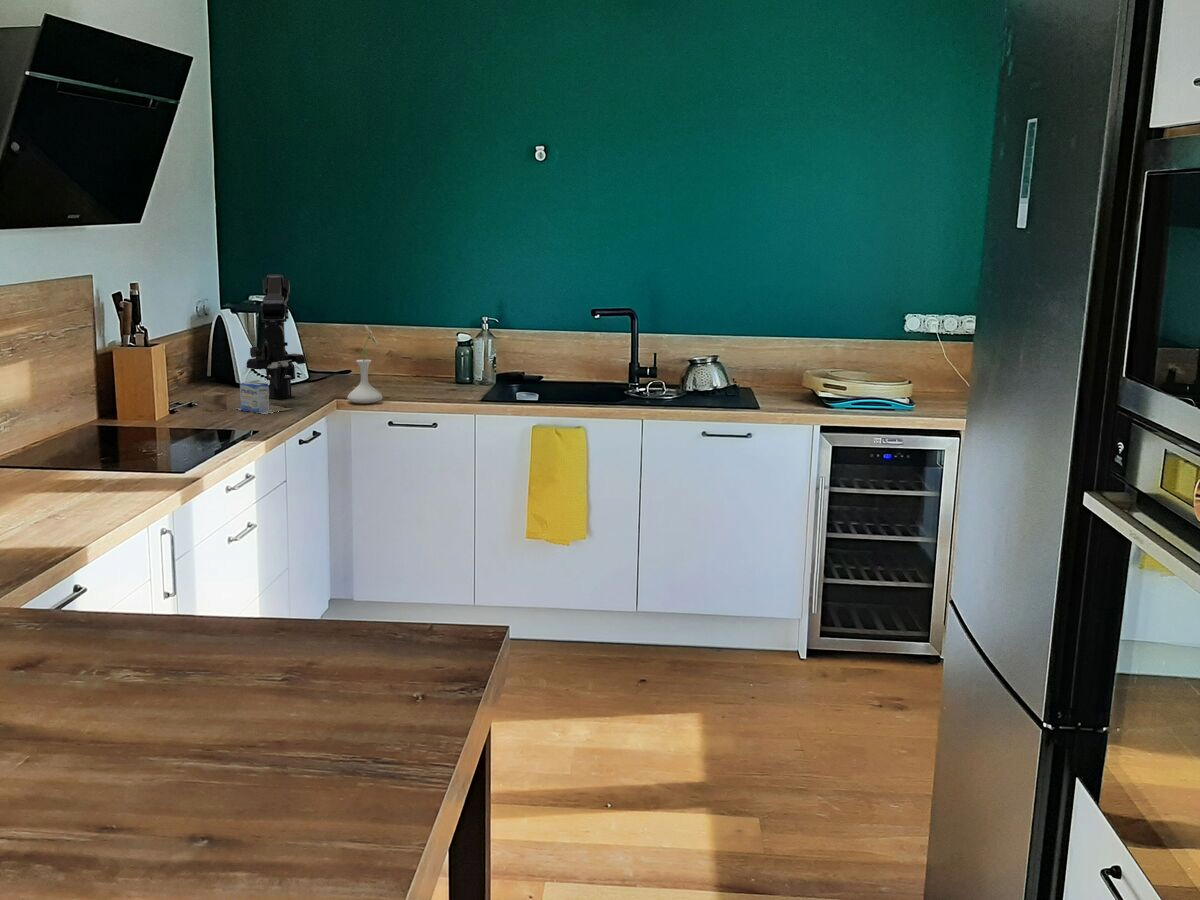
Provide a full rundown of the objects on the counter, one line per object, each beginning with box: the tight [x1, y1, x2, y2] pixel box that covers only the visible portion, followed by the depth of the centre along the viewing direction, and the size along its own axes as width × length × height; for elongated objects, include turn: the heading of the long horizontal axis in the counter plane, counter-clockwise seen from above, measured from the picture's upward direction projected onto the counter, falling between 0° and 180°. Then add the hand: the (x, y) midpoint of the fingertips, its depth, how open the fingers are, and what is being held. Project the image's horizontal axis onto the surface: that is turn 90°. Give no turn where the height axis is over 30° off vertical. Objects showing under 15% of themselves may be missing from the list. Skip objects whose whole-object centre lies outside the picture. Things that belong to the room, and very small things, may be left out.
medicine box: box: [239, 381, 270, 413], centre depth 362 cm, size 8×4×9 cm, turn 62°
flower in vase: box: [346, 324, 383, 404], centre depth 378 cm, size 13×11×25 cm
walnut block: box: [202, 391, 228, 412], centre depth 365 cm, size 5×5×5 cm
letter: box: [237, 407, 280, 415], centre depth 366 cm, size 12×14×1 cm
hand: (277, 388), depth 369 cm, fingers closed
